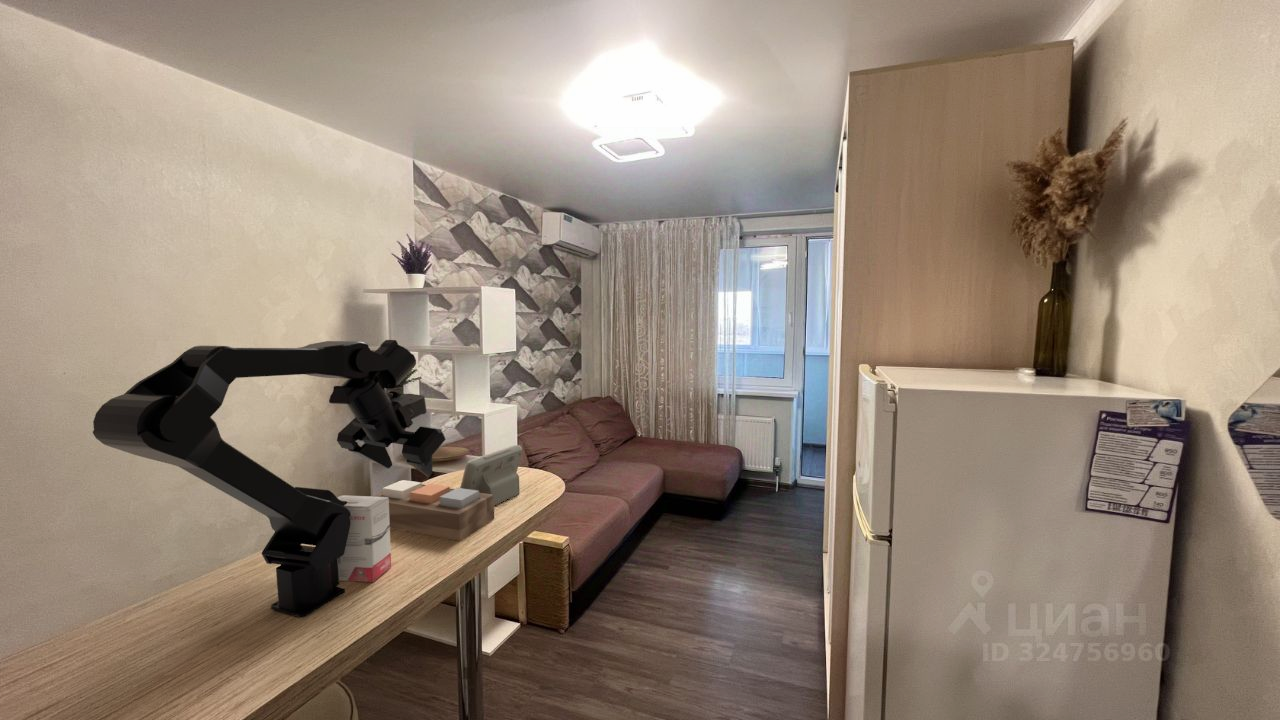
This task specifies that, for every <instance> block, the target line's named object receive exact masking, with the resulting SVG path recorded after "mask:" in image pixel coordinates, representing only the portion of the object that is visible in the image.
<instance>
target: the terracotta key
mask: <svg viewBox="0 0 1280 720" xmlns="http://www.w3.org/2000/svg"><path fill="white" fill-rule="evenodd" d="M425 485H426V486H424V487H421V488H419V489H417V490H415V491H412V492H410V495H411V501H416V502H422V503H429V504H433V503H435V502H437V501H439V500H440V496H442V495H444V494H446V493H448V492H450V487H451V486H448V485H439V484H433V483H428V484H425Z"/></svg>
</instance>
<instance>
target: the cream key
mask: <svg viewBox="0 0 1280 720" xmlns="http://www.w3.org/2000/svg"><path fill="white" fill-rule="evenodd" d="M422 484H423V483H422V482H419V481H412V480H404V479H402V480H399V481H397V482H394V483H391V484H389V485H386V486H384V487H382V492H383V496H385V497H391V498H397V499H405V498H407V497H409V496H411V495H410V492H412V491H415V490H417V489H419V488H421V487H422Z"/></svg>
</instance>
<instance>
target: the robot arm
mask: <svg viewBox="0 0 1280 720" xmlns="http://www.w3.org/2000/svg"><path fill="white" fill-rule="evenodd" d="M416 364H417V360H416V357H415V355H414V354H413V353H411V351H410V350H409V349H408V348H406V347H404V346H401V345H399V344H398V341H397V340H396V339H386V340H384V341H383V342H382V343H381V344H380V346H379V347H378V348H377V349H376V350H375V351H373V350H371V348H370V347H369V344H368V343H366V342H364V341H359V340H358V341H357V340H356V341H354V340H353V341H352V340H351V341H350V340H347V341H345V340H342V341H341V340H340V341H339V340H331V341H330V340H327V341H326V340H325V341H321V342H320V341H319V342H314V343H310V344H307V345H305V346H301V347H300V346H299V347H231V346H228V345H196V346H195V345H194V346H193V347H191V348H188V349H187V350H186V351H184V352H182V354H180V355H179V356H178V357H177V358H176V359H175V360H173V361H172V362H171V363H169V364H167V365H166V366H164V367H162V368H160V369H159V370H157V371H155V372H153V373H152V374H150V375H148V376H146V377H145V378H142V379H141V380H139V381H138V382H136V383H135V384H134V385H132V386H131V387H130V388H129V389H128V390H127V391H126V392H124V393H123V394H121V395H118V396H115V397H113V398H110V399H108V401H105V402H104V403H103V404H102V405H101V406H100V408H98V410H97V411H96V412H95V415H94V419H93V422H92V423H93V431H92V434H93V436H94V437H95V439H96V440H98V441H99V442H100V443H101V444H103V445H104V446H107V447H110V448H113V449H116V450H120V451H121V452H122V451H123V452H125V453H129V454H131V455H133V456H137V457H141V458H145V459H147V460H148V459H149V460H153V461H157V462H161V463H164V464H168V465H172V466H176V467H178V468H180V469H182V470H184V471H186V472H187V473H189V474H191V475H192V476H195V477H196V478H198V479H200V480H201V481H203V482H205V483H207V484H209V485H210V486H212V487H214V488H216V489H218V490H220V491H221V492H223V493H225V494H227V495H228V496H230V497H232V498H234V499H235V500H237V501H239V502H240V503H243V504H245V505H246V506H248V507H249V508H251V509H253V510H255V511H257V512H258V513H260V514H261V515H264V516H266V517H267V518H268V520H269V522H270V526H271V529H272V531H274V532H273V534H272V536H271V537H270V539H269V540H268V542H267V543H266V545H265V546H264V548H263V550H262V551H261V556H262V557H263V559H264V561H265V563H266V564H268V565H273V564H274V565H279V566H277V567H276V568H275V572H276V587H277V588H276V589H277V599H278V600H277V601H275V602H273V603H271V604H270V609H271V610H275V611H277V612H280V613H285V614H287V615H290V616H295V617H298V618H305V617H307V616H308V615H310V614H312V613H313V612H315V611H317V610H319V609H320V608H322V607H323V606H326V605H327V604H328V603H330V602H332V601H334V600H335V599H337V598H338V597H340V596H342V595H344V594H345V593H346V589H345V588H344V587H339V584H340V580H339V575H338V560H337V559H338V558H339V557H341V556H343V555H344V552H345V547H346V543H347V538H348V533H349V529H350V518H349V517H350V516H351V513H350V511H349V510H348V509H347V507H345V506H344V505H346V504H347V501H341V500H339V499H338V498H337V497H338V496H336V494H334V492H332V491H331V490H329V489H321V488H312V487H311V488H310V487H302V486H301V487H300V486H293V485H291V484H290V483H288V482H287V481H285V480H284V479H282V478H281V477H279V476H278V475H276V474H274V473H273V472H272V471H270V470H268V469H267V468H266V467H264V466H262V465H261V464H259V463H258V462H256V461H255V460H253V459H252V458H250V457H249V456H248V455H246V454H244V453H242V451H240V450H238V449H237V448H236V447H234V446H232V445H231V444H229V443H228V442H226V441H225V440H224V439H223V438H222V436H221V434H220V430H219V428H218V425H217V423H216V421H215V420H214V419H213V418H212V416H213V415H214V414H215V413H216V412H217V411H219V409H220V408H221V406H222V405H223V403H224V400H225V398H226V395H227V391H228V390H229V387H230V385H231V384H232V383H233V382H234V381H235V380H236V379H241V378H243V379H244V378H256V377H257V378H258V377H261V378H262V377H276V376H278V377H279V376H293V375H294V376H297V375H306V376H311V377H318V378H325V379H346V380H345V381H344V382H343V383H342V384H341V385H334V386H332V387H333V390H332V393H331V394H330V396H329V400H328V403H329V404H334V405H335V404H337V405H347V406H348V408H349V409H350V411H351V413H352V414H353V416H354V418H353V419H352V420H351V421H350V422H349V423H347V425H345V426H344V427H343V428H342V429H341V430H340V431H339V432H338V433H337V438H336V442H337V444H338V445H339V446H340V448H342V449H346V450H348V452H351V453H353V454H356V455H358V456H360V457H362V458H365V459H367V460H369V461H371V462H373V463H375V464H377V465H380V466H381V467H383V468H386V469H391V467H392V466H393V461H392V459H391V456H390V454H389V452H388V450H387V448H388V447H389V446H391V444H398V445H402V449H401V454H402V455H403V457H404V458H405V459H406V461H405V463H407V464H409V465H410V466H412V467H413V468H414V469H415V470H417V471H419V473H422V474H423V475H424V476H426V477H428V478H429V477H431V475H432V474H433V455H434V454H435V453H436V451H437V450H439V448H440V447H441V446H442V444H443V443H444V442H445V441H446V436H445V434H444V432H443V430H442V429H441V428H437V427H430V426H419V427H418V428H417V429H416V430H415V432H413V431H408V430H406V429H407V428H411V426H412V425H413V424H414V422H413V419H415V418H417V417H420V416H421V415H425V414H426V413H427V412H428V411H427V407H426V406H427V405H426V398H425V395H424V394H415V393H400V392H399V391H398V390H392V389H395V388H396V387H398V385H400V383H401V382H402V381H403V380H405V378H406V377H407V375H408V374H409V373H411V371H412V370H413V369H415V367H416ZM385 389H387V390H388V391H386V390H385Z"/></svg>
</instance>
